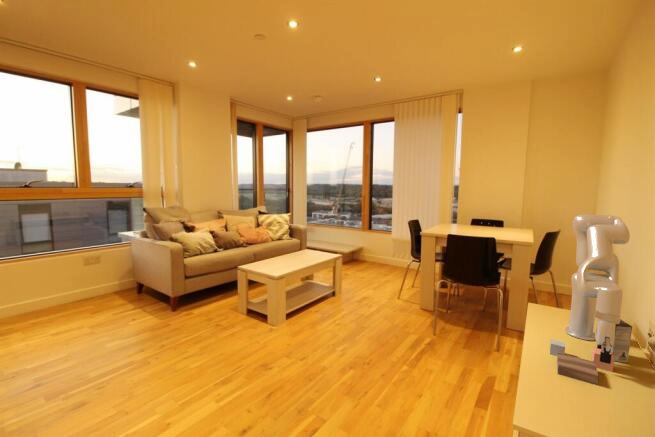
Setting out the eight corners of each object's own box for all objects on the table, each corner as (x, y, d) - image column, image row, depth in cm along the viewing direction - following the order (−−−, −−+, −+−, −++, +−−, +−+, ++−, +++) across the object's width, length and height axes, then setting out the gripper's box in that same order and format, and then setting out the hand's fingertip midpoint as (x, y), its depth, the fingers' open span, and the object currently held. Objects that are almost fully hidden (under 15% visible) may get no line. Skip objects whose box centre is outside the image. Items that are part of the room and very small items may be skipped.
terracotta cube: (591, 360, 135) (592, 347, 134) (610, 365, 131) (611, 351, 131) (593, 367, 130) (594, 353, 129) (612, 372, 126) (614, 357, 126)
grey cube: (549, 349, 143) (550, 339, 143) (563, 353, 140) (564, 342, 140) (549, 354, 139) (550, 343, 139) (563, 358, 136) (565, 347, 136)
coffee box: (597, 350, 143) (601, 316, 142) (614, 352, 142) (618, 317, 141) (611, 361, 134) (615, 324, 133) (629, 363, 133) (633, 326, 132)
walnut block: (556, 361, 134) (557, 352, 134) (593, 371, 127) (594, 361, 127) (557, 374, 124) (558, 365, 124) (597, 386, 118) (598, 376, 117)
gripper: (592, 308, 137) (589, 346, 139) (597, 320, 123) (593, 363, 125) (616, 312, 133) (612, 352, 134) (624, 325, 119) (619, 369, 120)
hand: (603, 357), depth 130 cm, fingers open, 9 cm apart
